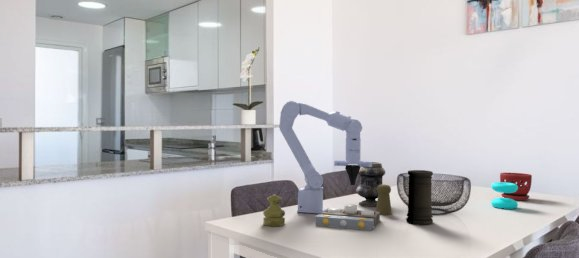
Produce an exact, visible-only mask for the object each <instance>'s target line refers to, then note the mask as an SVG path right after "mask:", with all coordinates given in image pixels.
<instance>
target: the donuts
mask: <svg viewBox="0 0 579 258" xmlns="http://www.w3.org/2000/svg"><path fill="white" fill-rule="evenodd" d="M505 182H506V181H505ZM505 182H500V181H498V182H492V183H491V185H490V186H491V189H492V190H493V191H494V192H497V193H501V194H502V193H513V192H516V191H517V190H518V186H517V185H516V184H517V183H516V184H513V183H505ZM490 204H491V206H492V207H494V208H496V207H497V208H496V209H500V208H504V209H503V210H514V209H516V208H518V206H519V205H518V201H516V200H513V199H509V198H503V197H496V198H493V199H492V200H491V202H490Z"/></svg>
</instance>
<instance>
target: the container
mask: <svg viewBox="0 0 579 258" xmlns="http://www.w3.org/2000/svg"><path fill="white" fill-rule="evenodd" d="M407 174H408V183H407V184H408V192H407V193H408V194H407V195H408V196H407V197H408V199H407V200H408V201H407V214H406V216H407V217H406V218H405V220H406V223H407V224H411V225H416V226H429V225H433V223H434V220H433V217H434V216H433V214H432V213H433V212H432V211H433V210H432V209H433V207H432V185H433V184H432V183H433V182H432V179H433V177H432V176H433V174H434V173H433V171H431V170H425V169H424V170H422V169H412V170H411V169H410V170H408V171H407Z"/></svg>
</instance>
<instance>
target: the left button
mask: <svg viewBox="0 0 579 258" xmlns="http://www.w3.org/2000/svg"><path fill="white" fill-rule="evenodd" d="M328 208H329V209H328V212H332V213H340V209H341V208H337V207H328Z"/></svg>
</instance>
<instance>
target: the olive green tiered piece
mask: <svg viewBox="0 0 579 258" xmlns="http://www.w3.org/2000/svg"><path fill="white" fill-rule="evenodd" d="M266 199H267V201H268V202H269V204H270V205H269V206H268V207H267V208H266V209H265V210H263V212H262V213H263V214H262V215H263V216H264V217H263V219H262V220H263V225H264V226H266V227H275V228H276V227H282V226H284V225H285V224H286V218H285V215H286V211H285V210H283V209H282V207H281V206H279V203H280V202H281V201H282V199H283V198H282V197H281V196H279V195H277V194H271V195H270V196H268V197H266Z"/></svg>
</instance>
